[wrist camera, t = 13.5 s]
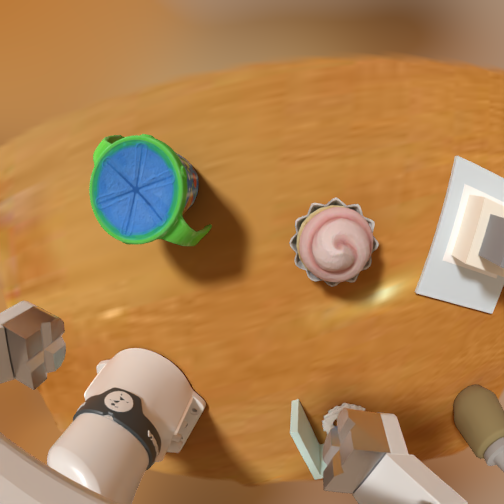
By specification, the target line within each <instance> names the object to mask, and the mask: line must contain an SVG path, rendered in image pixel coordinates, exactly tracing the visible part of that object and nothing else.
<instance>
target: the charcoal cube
mask: <svg viewBox="0 0 504 504" xmlns="http://www.w3.org/2000/svg"><path fill="white" fill-rule="evenodd" d="M478 255H479V256H481V257H483V258H485V259H487V260H489V261H490V262H492V263H494V264H496V265H498V266H499V267H502V268H504V218H502V217H499V216H496V215H492V214H490V218H489V221H488V225H487V228H486V232H485V235H484V238H483V242H482V245H481V248H480V251H479V254H478Z"/></svg>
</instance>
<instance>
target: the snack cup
mask: <svg viewBox="0 0 504 504" xmlns="http://www.w3.org/2000/svg"><path fill="white" fill-rule="evenodd" d="M93 160H94V165H95V166H94V169H93V172H92V175H91V180H90V189H89V190H90V200H91V205H92V209H93V212H94V214H95V216H96V218H97V220H98V222H99V223H100V225H101V227H102V228H103V229H104V230H105V231H106V232H107V233H108V234H110V235H111V236H112V237H114V238H115V239H117V240H119V241H122V242H123V243H125V244H144V243H148V242H151V241H154V240H156V239H163V240H166V241H168V242H171V243H174V244H177V245H181V246H195V245H196V244H197V243H198V242H199V241H200V240H201V239H202V238H203V237H204V236H205V235H206V234H207V233H208V232H209V231H210V229H211V227H212V225H211V224H209V225H207V226H205V227H204V228H203V229H202V230H200V231H198V232H196V231H195V230H193V229H192V228H191V227H189V225H188V224H187V223H186V222H185V220H184V218H183V216H182V215H183V214H184V213H185V212H186V211H187V210H188V209H189V208H190V207H191V206H192V204H193V202H194V201H195V198H196V196H197V193H198V176H197V173H196V172H195V170H194V168H193V166H192V165H191V164H190V163H189V162H188V161H187V160H186V159H185V158H183V157H182V156H180V155H179V154H177V153H175V152H174V151H173V150H172V148H170V147H169V146H168V145H166V144H165V143H163V142H162V141H160V140H158V139H155V138H154V137H153V136H151V135H146V134H142V135H140V136H129V137H122V136H121V135H114V136H108V137H105V138H104V139H103V140H102V141H101V142H100V144H99V145H98V147H97V148H96V150H95V152H94V155H93Z"/></svg>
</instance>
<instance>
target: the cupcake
mask: <svg viewBox="0 0 504 504" xmlns="http://www.w3.org/2000/svg"><path fill="white" fill-rule="evenodd" d="M295 227H296V234H295V235H294V236H293V237H292V238H291V240H290V242H289V243H290V246H291V248H292V249H293V250H294V251H295V252H296V256H295V264H296V266H297V267H299V268H301V269H303V270H306V272H307V275H308V277H309V278H310V279H311V280H313V281H322V280H323V281H324V282H325V283H326V284H327V285H329V286H331V287H333V286H336V285H338V284H339V283H340V282H343V281H347V282H355V281H356V279H357V277H358V275H359V272H360V271H362V270H365V269H368V268H369V267H370V266H371V262H372V260H371V254H372V253H373V252H374V251H375V250H376V249H377V247H378V245H379V244H378V241H377V240H376V239H375V238H374V236H373V234H372V233H373V229H374V221H373V220H371V219H368V218H366V217H363V214H362V210H361V207H360V206H359V204H352V205H347V206H346V205H345V204H344V203H343V202H342V201H341V200H340V199H338V198H334V199H332V200H331V201H330V202H328V203H327V204H326V205H323V204H319V203H312V205H311V206H310V209H309V212H308V214H307V215H306V216H303V217H300V218H298V219H297V220H296V222H295Z"/></svg>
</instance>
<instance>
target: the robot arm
mask: <svg viewBox="0 0 504 504" xmlns="http://www.w3.org/2000/svg"><path fill="white" fill-rule="evenodd" d="M64 332H65V330H64V322H63V321H62V320H61V318H59V317H57V316H55V315H53V314H51V313H49V312H47V311H45V310H44V309H42V308H40V307H37V306H36V305H34V304H32V303H30V302H28V301H21V302H20V303H18V304H16V305H14V306H12V307H10V308H9V309H7V310H5V311H3V312H1V313H0V383H4V382H7V381H10V380H13V379H14V378H15V379H17V380H18V381H20V382H21V383H23V384H25V385H26V386H28V387H30V388H31V389H33V390H35V389H36V388H37V387H38V386H39V385H40V384H41V383H43V382H44V381H45V380H46V379H47V373H49V372H53V371H56V370H57V369H58V368H59V367H60V366H61V364H62V362H63V360H64V358H65V352H66V347H65V343H64V341H63V339H62V337H61V336H62V334H63V333H64ZM97 373H98V375H97V376H96V377H95V379H94V380H93V382H92V383H91V384H90V386H89V387H88V388H87V390H86V391H85V393H84V397H85V402H84V403H83V404H82V405H81V406H80V407H79V408H78V410H77V412H76V414H75V415H74V417H73V422H72V423H71V425H70V426H69V427H68V428H67V429H66V430H65V432H64V433H63V434H62V435H61V436H60V438H59V439H58V440H57V441H56V442H55V444H54V445H53V446H52V447H51V449H50V450H49V453H48V457H47V465H46V464H45V463H43V462H41V461H40V460H38V459H37V458H35V457H34V456H32V455H31V454H29V453H27V452H26V451H25V450H23V449H22V448H21V447H19V446H17V445H16V444H15V443H14V442H12V441H11V440H9V439H8V438H7V437H5V436H4V435H3V434H2V433H0V504H132V501H133V498H134V496H135V493H136V490H137V488H138V485H139V483H140V481H141V478H142V476H143V475H144V472H145V471H146V470H148V469H149V468H150V467H151V466H152V465H153V464H154V463H155V462H159V461H162V460H163V459H164V456H165V454H166V452H175V453H179V452H180V450H181V449H182V447H183V446H184V444H185V442H186V440H187V439H188V437H189V435H190V433H191V432H192V430H193V428H194V426H195V425H196V423H197V421H198V419H199V417H200V416H201V414H202V412H203V410H204V409H205V407H206V403H205V401H204V400H203V399H202V398H201V397H200V396H199V395H198V394H197V393H196V392H195V391H194V390H193V389H192V388H191V386H190V384H189V382H188V381H187V379H186V377H185V376H184V374H183V373H182V372H181V371H180V370H179V369H178V368H177V367H176V366H175V365H174V364H173V363H172V362H170V361H169V360H168V359H166V358H165V357H163V356H161V355H159V354H157V353H155V352H152V351H149V350H146V349H140V348H130V349H125V350H122V351H120V352H119V353H117V354H116V355H115V356H114V357H113V358H112V359H110V360H104V361H101V362H100V363H99V364H98V365H97ZM194 408H195V409H194ZM196 409H197V410H196ZM323 461H324V462H325V463H326V464H327V467H326V468H325V470H324V471H323V483H324V484H323V485H324V490H325V491H333V492H342V493H351V494H353V496H354V498H355V499H356V501H357V502H358V504H468V503H467V501H466V500H464V499H463V498H462V497H461V496H460V495H459V494H457V493H456V492H455V491H454V490H453V489H452V488H451V487H449V486H448V485H447V484H446V483H445V482H444V481H442V480H441V479H440V478H439V477H438V476H437V475H436V474H434V473H433V472H432V471H431V470H430V469H429V468H428V467H426V466H425V465H424V464H423V463H422V462H421V461H420V460H419V459H418V458H416V457H415V456H414V455H409V454H408V450H407V447H406V444H405V441H404V438H403V435H402V432H401V428H400V425H399V422H398V419H397V417H396V416H395V415H394V414H389V413H379V412H378V413H375V412H368V411H361V410H354V409H348V408H343V409H342V410H341V411H340V413H339V415H338V417H337V426H335V427H334V428H332V429H330V431H329V433H328V435H327V437H326V440H325V443H324V446H323Z"/></svg>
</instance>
